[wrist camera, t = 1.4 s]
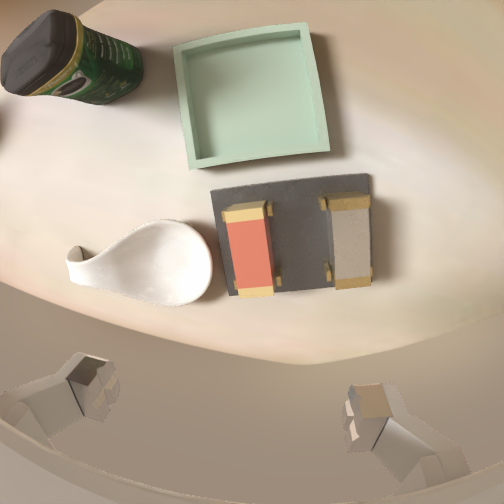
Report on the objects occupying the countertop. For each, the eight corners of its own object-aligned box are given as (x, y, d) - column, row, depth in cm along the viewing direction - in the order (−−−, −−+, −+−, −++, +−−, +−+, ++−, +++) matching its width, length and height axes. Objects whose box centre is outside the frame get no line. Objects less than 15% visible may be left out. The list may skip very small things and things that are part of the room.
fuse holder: (365, 172, 34) (379, 176, 28) (370, 279, 38) (382, 299, 32) (212, 190, 37) (198, 197, 31) (230, 292, 41) (221, 314, 35)
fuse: (265, 200, 35) (262, 207, 31) (276, 278, 38) (274, 295, 34) (232, 204, 36) (224, 212, 31) (245, 280, 39) (239, 298, 34)
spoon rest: (212, 209, 38) (196, 222, 31) (223, 293, 41) (211, 320, 35) (72, 225, 41) (43, 238, 34) (89, 293, 45) (64, 312, 38)
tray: (305, 31, 29) (306, 22, 26) (326, 151, 33) (330, 150, 31) (180, 53, 31) (172, 46, 28) (197, 168, 36) (189, 170, 33)
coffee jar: (140, 39, 31) (56, -9, 13) (149, 85, 33) (56, 52, 16) (86, 68, 33) (-6, 46, 15) (93, 113, 35) (-7, 106, 17)
